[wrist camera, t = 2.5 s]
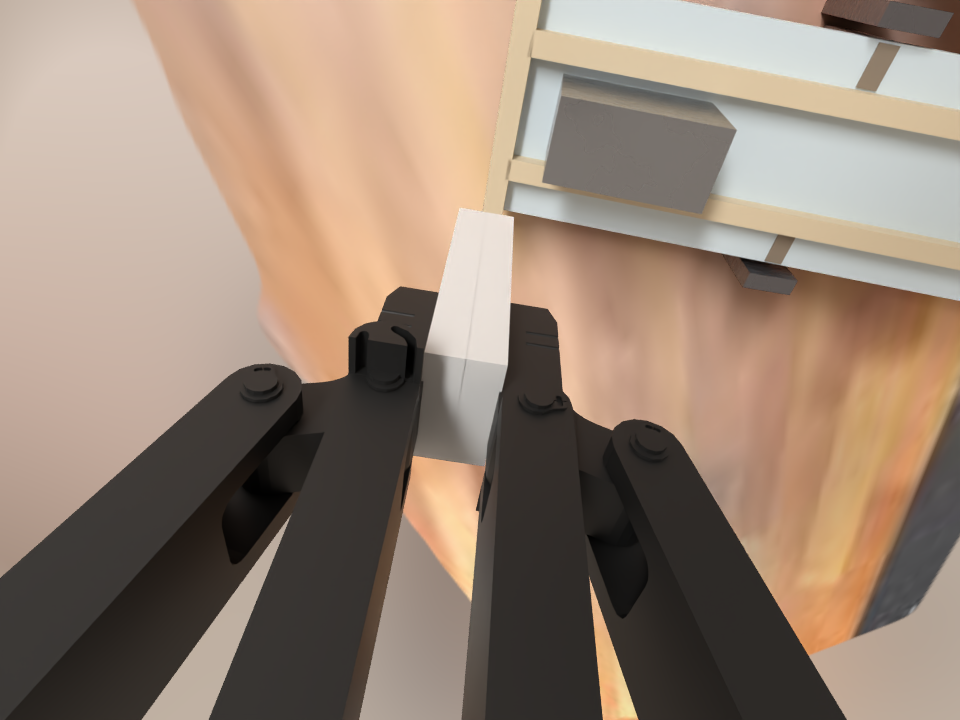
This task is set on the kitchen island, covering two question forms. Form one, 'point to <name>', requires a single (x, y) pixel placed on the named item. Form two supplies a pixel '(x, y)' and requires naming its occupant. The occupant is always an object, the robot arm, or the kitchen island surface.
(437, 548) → the kitchen island surface
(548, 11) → the beam
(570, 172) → the block
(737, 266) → the fulcrum
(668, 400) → the kitchen island surface
